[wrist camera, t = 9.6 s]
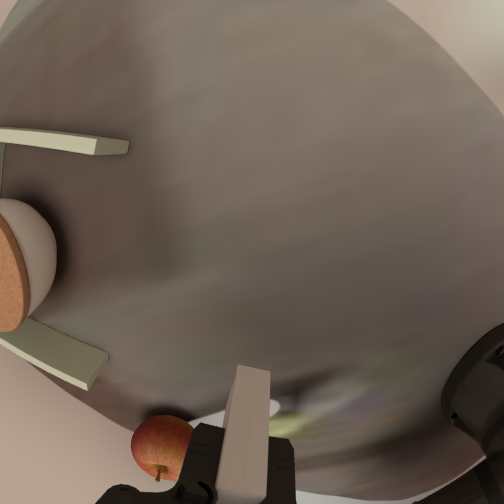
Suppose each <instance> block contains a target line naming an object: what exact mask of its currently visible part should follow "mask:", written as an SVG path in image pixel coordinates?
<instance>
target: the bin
mask: <svg viewBox="0 0 504 504" xmlns="http://www.w3.org/2000/svg"><path fill="white" fill-rule="evenodd" d="M6 142H7V143H16V144H24V145H32V146H39V147H46V148H53V149H60V150H66V151H72V152H78V153H84V154H90V155H109V154H127V152H128V147H129V143H130V141H125V140H119V139H112V138H106V137H99V136H92V135H85V134H77V133H69V132H60V131H51V130H41V129H29V128H16V127H0V194H1V179H2V168H3V159H4V151H5V144H6ZM0 344H1V345H3V346H4V347H6V348H8V349H9V350H11V351H12V352H14V353H15V354H17V355H19V356H20V357H22V358H24V359H26V360H27V361H29V362H31V363H33V364H34V365H36V366H38V367H40V368H42V369H44V370H46V371H47V372H49V373H51V374H53V375H55V376H57V377H59V378H61V379H63V380H65V381H67V382H69V383H72V384H74V385H76V386H78V387H80V388H82V389H85V390H87V391H88V390H89V388H90V387H91V385H92V384H93V382H94V381H95V379H96V378H97V376H98V375H99V373H100V372H101V370H102V369H103V367H104V366H105V364H106V363H107V361H108V353H107V352H105V351H102V350H100V349H97V348H95V347H92V346H90V345H87V344H85V343H83V342H80V341H78V340H76V339H73V338H71V337H69V336H67V335H64V334H62V333H60V332H58V331H56V330H53V329H51V328H49V327H47V326H45V325H43V324H41V323H39V322H37V321H35V320H33V319H31V318H29V317H27V318H26V319H25V320H24V322H23V323H22V324H21V325H20V326H19V327H17V328H16V329H15V330H13V331H11V332H2V331H0Z"/></svg>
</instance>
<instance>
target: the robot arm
mask: <svg viewBox="0 0 504 504" xmlns="http://www.w3.org/2000/svg"><path fill="white" fill-rule="evenodd" d="M269 403H270V371H265V370H261V369H256V368H251V367H247V366H243V365H238V367H237V371H236V374H235V378H234V381H233V384H232V388H231V391H230V395H229V398H228V401H227V405H226V410H225V416H224V421H223V426H222V428H221V427H217V426H213V425H209V424H204V423H199V424H198V426H196V427H195V429H193V431H192V434H191V437H190V441H189V444H188V448H187V451H186V454H185V458H184V461H183V465H182V468H181V472H180V475H179V479H178V481H177V483H176V484H175V486H174V487H173V488H171V489H170V490H168V491H165V492H158V493H155V492H140V491H139V490H137V489H136V488H134V487H132V486H130V485H123V484H120V485H115V486H112V487H111V488H109V489H108V490H107V491H106V492H105V493H104V494H103V495H102V497H101V498H100V499H99V500H98V501H97V502H96V503H95V504H297V503H296V490H295V470H294V469H295V462H294V448H293V447H292V445H291V443H290V441H289V439H284V438H277V437H270V436H269V407H270V406H269V405H270V404H269ZM441 405H442V409H443V411H444V413H445V414H446V416H447V418H448V420H449V421H450V422H451V423H452V424H453V425H455V426H456V427H457V428H459V429H460V430H461V431H463V432H464V433H465V434H467V435H468V436H469V437H471V438H472V439H474V440H475V441H476V442H478V443H479V445H480V446H481V448H482V450H483V452H484V453H485V455H486V459H484V460H483V461H482V462H481V463H479V464H478V465H476V466H475V467H473V468H472V469H471V470H469V471H468V472H466V473H465V474H463V475H462V476H460V477H459V478H457V479H456V480H455V481H453V482H451V483H450V484H448V485H447V486H445V487H443V488H441V489H440V490H438V491H436V492H435V493H433V494H431V495H429V496H428V497H426V498H424V499H422V500H420V501H418V502H417V501H415V502H413V503H412V504H504V324H503V325H501V326H499V327H497V328H496V329H494V330H493V331H491V332H490V333H488V334H487V335H486V336H485V337H483V338H482V339H481V340H480V341H479V342H478V343H477V344H476V345H475V346H474V347H473V348H472V349H471V350H470V351H469V352H468V353H467V354H466V355H465V357H464V358H463V359H462V360H461V362H460V363H459V364H458V366H457V367H456V368H455V370H454V371H453V373H452V375H451V376H450V378H449V380H448V382H447V384H446V386H445V388H444V391H443V394H442V399H441Z"/></svg>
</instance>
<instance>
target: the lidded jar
mask: <svg viewBox="0 0 504 504" xmlns="http://www.w3.org/2000/svg"><path fill="white" fill-rule="evenodd" d="M56 266H57V245H56V240H55V236H54V233H53V231H52V229H51V227H50V225H49V224H48V222H47V221H46V220H45V219H44V218H43V217H42V216H41V215H40V214H39V213H38V211H36V210H35V209H34V208H33V207H31V206H30V205H28V204H26V203H24V202H21V201H18V200H15V199H4V198H1V199H0V331H2V332H11V331H13V330H15V329H16V328H17V327H19V326H20V325H21V324H22V323H23V322H24V320H25V319H26V318H27V317H28V316H29V315H31V314H32V313H33V312H34V311H35V310H36V309H37V308H38V306H39V305H40V304H41V303H42V301H43V300H44V299H45V297H46V296H47V294H48V293H49V290H50V288H51V286H52V284H53V281H54V277H55V273H56Z"/></svg>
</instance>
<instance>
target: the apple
mask: <svg viewBox="0 0 504 504" xmlns="http://www.w3.org/2000/svg"><path fill="white" fill-rule="evenodd" d="M193 429H194V428H193V427H192V426H191V425H190V424H189V423H187V422H186V421H185V420H183V419H180V418H177V417H174V416H170V415H158V416H153V417H151V418H149V419H147V420H146V421H144V422H143V423H142V424H141V425H140V426H139V427H138V428H137V429H136V431H135V432H134V434H133V436H132V440H131V451H132V454H133V457H134V459H135V461H136V462H137V464H138V465H139V466H140V467H141V468H142V469H143V470H144V471H146V472H147V473H148V474H149V475H151V476H153V477H156V479H155V480H156V481H157V482H159V481H160V479H164V480H170V481H178V479H179V475H180V472H181V468H182V465H183V461H184V458H185V454H186V451H187V448H188V444H189V441H190V437H191V434H192V431H193Z"/></svg>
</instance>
